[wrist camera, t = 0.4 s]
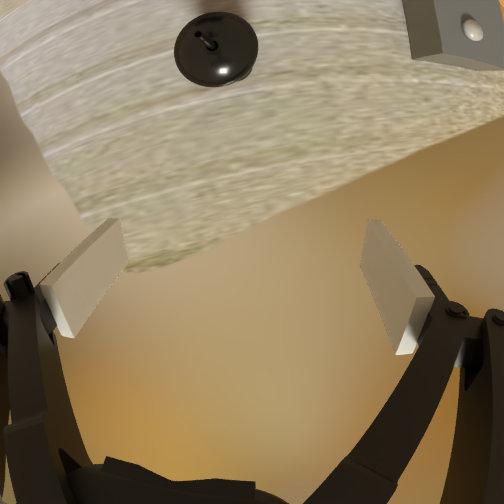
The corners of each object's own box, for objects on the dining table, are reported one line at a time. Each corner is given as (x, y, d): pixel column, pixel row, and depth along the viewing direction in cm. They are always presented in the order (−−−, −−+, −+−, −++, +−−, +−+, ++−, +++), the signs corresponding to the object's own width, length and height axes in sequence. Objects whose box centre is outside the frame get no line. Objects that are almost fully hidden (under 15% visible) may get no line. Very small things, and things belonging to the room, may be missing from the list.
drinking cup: (196, 52, 34) (133, 19, 16) (250, 30, 32) (229, -26, 14) (218, 100, 37) (169, 101, 19) (272, 79, 35) (270, 58, 17)
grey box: (390, -44, 23) (415, -70, 14) (464, -24, 21) (497, -39, 13) (411, 59, 31) (446, 52, 22) (483, 72, 30) (523, 73, 21)
